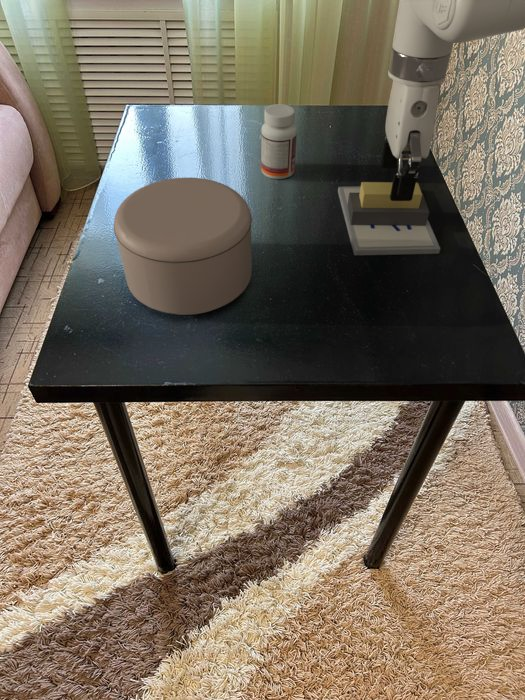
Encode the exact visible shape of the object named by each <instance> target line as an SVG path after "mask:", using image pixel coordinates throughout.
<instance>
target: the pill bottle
mask: <svg viewBox="0 0 525 700" xmlns="http://www.w3.org/2000/svg"><path fill="white" fill-rule="evenodd" d="M295 116H296V110H295V108H293V106H291V105H289V104H284V103H274V104H270V105H268V106H266V107H265V108H264V119H263V120H264V123H263V124H262V125H261V131H260V138H261V139H260V141H261V142H260V145H261V146H260V148H261V149H260V159H261V160H260V167H261V168H260V170H261V171H260V172H261V173H262V174H263V175H264V176H265V177H267V178H269V179H271V180H284V179H288V178H290V177H291V176H293V174H294V173H295V168H296V154H297V135H298V128H297V125H296V124H295V120H296V119H295V118H296V117H295Z"/></svg>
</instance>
